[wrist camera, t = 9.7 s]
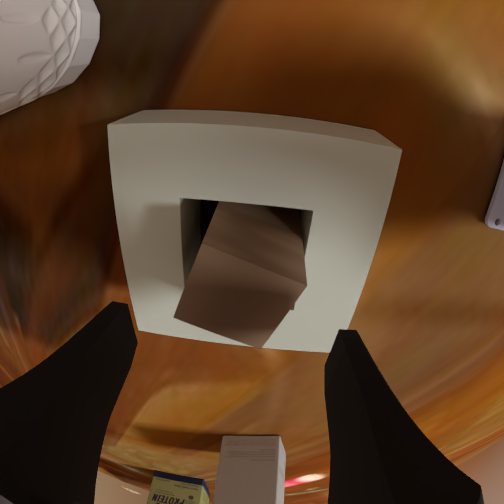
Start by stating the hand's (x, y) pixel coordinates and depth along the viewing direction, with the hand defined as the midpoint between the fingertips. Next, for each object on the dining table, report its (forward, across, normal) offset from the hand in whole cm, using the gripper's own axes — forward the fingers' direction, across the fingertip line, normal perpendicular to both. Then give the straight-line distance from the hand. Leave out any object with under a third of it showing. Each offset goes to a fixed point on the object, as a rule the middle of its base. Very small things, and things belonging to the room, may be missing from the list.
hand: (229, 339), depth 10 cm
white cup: (+9, +12, -11) cm, 19 cm away
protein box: (+9, +10, +64) cm, 65 cm away
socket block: (+9, 0, 0) cm, 9 cm away
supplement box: (+9, -3, +32) cm, 33 cm away
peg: (+9, 0, 0) cm, 9 cm away
